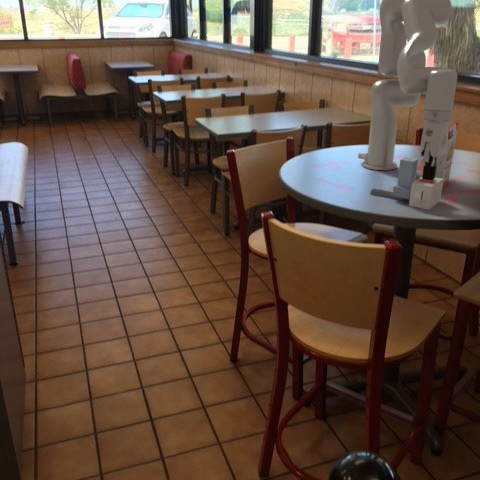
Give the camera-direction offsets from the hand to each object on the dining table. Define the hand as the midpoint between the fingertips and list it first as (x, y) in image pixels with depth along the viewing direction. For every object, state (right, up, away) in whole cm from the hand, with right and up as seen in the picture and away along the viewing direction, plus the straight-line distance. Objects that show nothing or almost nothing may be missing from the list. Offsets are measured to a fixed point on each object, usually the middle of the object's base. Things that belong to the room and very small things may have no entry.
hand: (428, 178), depth 151 cm
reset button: (0, -3, +1) cm, 3 cm away
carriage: (-5, -4, +6) cm, 9 cm away
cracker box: (+9, -1, +19) cm, 21 cm away
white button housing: (0, -7, +3) cm, 8 cm away
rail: (-8, -5, +9) cm, 13 cm away
